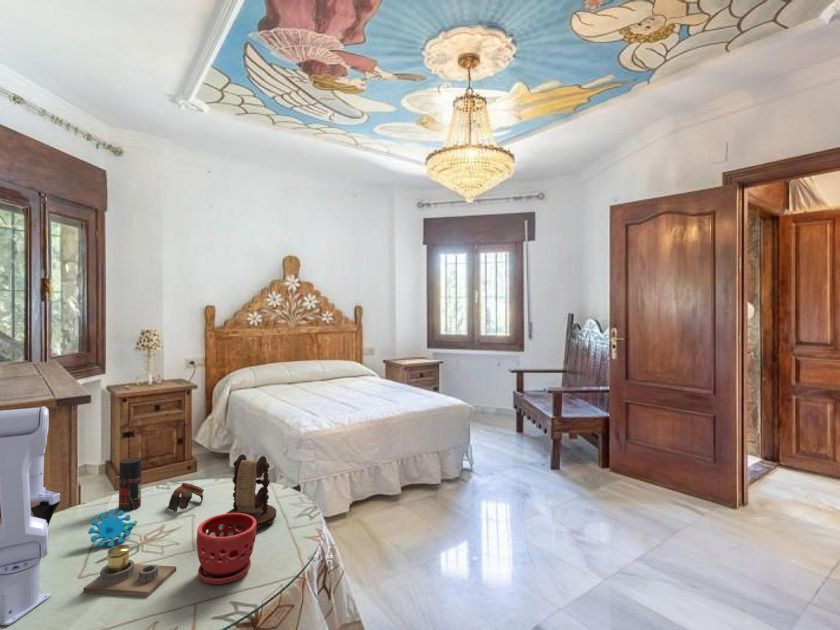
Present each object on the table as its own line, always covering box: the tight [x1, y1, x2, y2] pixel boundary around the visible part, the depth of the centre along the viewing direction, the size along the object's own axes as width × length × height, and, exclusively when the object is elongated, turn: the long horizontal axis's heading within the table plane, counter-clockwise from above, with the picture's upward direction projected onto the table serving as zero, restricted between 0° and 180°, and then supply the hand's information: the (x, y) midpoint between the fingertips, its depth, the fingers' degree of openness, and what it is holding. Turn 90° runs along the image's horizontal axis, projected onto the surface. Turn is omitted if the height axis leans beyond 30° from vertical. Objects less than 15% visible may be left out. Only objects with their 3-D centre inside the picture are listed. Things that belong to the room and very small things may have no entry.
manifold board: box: [83, 559, 177, 597], centre depth 103 cm, size 10×15×3 cm, turn 86°
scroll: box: [225, 453, 277, 533], centre depth 133 cm, size 15×15×20 cm
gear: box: [88, 509, 138, 548], centre depth 122 cm, size 11×6×10 cm
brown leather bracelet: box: [168, 482, 205, 513], centre depth 143 cm, size 12×10×8 cm
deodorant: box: [118, 457, 143, 513], centre depth 142 cm, size 6×6×15 cm
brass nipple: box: [107, 544, 130, 574], centre depth 104 cm, size 4×4×6 cm
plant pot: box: [196, 512, 257, 585], centre depth 107 cm, size 13×13×12 cm
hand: (26, 532), depth 106 cm, fingers open, 7 cm apart
